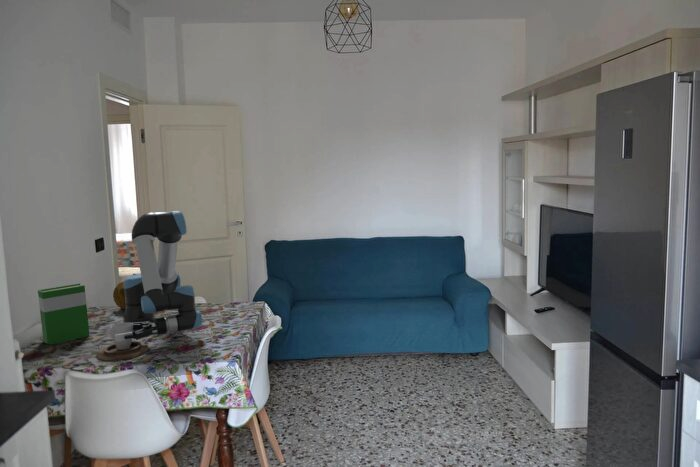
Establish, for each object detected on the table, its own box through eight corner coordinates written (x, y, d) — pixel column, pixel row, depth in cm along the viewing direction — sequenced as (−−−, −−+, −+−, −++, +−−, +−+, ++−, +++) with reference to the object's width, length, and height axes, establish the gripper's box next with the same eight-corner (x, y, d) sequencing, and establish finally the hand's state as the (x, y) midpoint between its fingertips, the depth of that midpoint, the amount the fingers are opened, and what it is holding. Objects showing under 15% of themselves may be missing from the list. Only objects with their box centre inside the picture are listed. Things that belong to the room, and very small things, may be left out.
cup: (137, 346, 233) (137, 323, 233) (124, 351, 226) (123, 327, 225) (122, 345, 236) (122, 322, 236) (108, 349, 228) (108, 325, 228)
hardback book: (84, 332, 261) (79, 283, 258) (89, 335, 255) (84, 285, 252) (43, 341, 249) (37, 290, 246) (47, 345, 243) (42, 292, 240)
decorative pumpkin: (113, 305, 309) (113, 270, 307) (152, 303, 318) (152, 269, 315) (113, 315, 291) (113, 278, 289) (154, 312, 299) (155, 277, 297)
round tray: (117, 343, 241) (117, 338, 241) (157, 345, 236) (157, 340, 236) (85, 359, 222) (85, 353, 221) (128, 362, 217) (128, 356, 216)
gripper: (173, 340, 227) (118, 351, 216) (159, 326, 248) (109, 335, 237) (171, 323, 226) (116, 332, 215) (158, 310, 247) (107, 319, 236)
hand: (112, 334), depth 226 cm, fingers open, 13 cm apart
